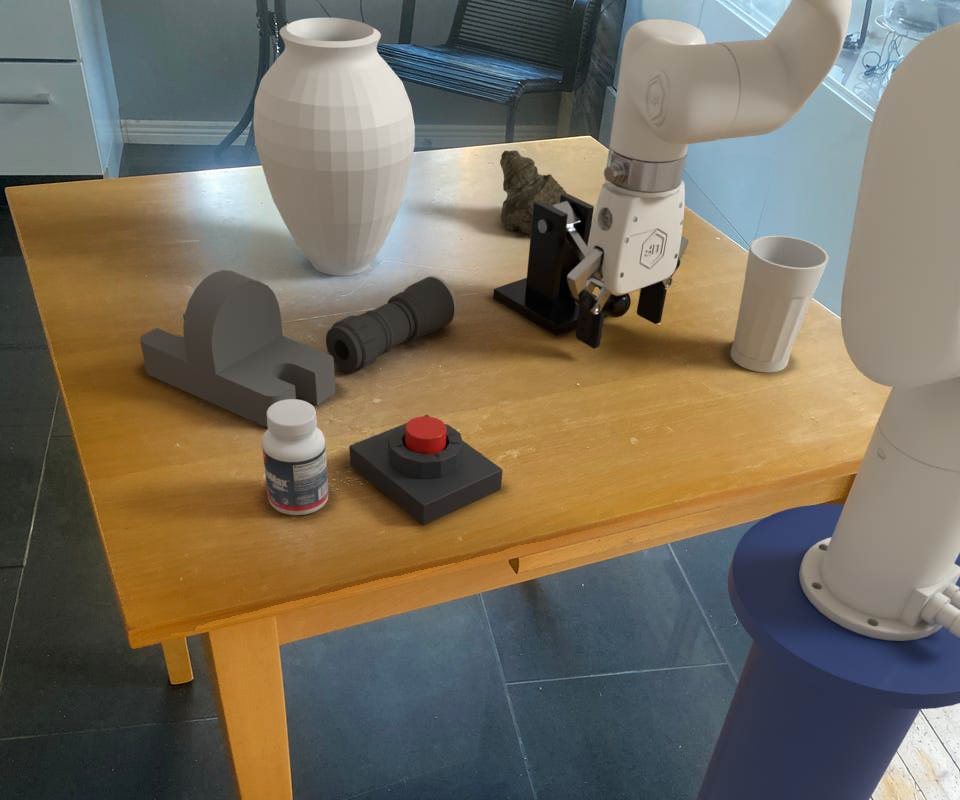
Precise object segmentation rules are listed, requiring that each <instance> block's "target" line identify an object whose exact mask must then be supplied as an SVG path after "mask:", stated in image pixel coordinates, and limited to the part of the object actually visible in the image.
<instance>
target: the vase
mask: <svg viewBox="0 0 960 800" xmlns="http://www.w3.org/2000/svg"><path fill="white" fill-rule="evenodd" d="M279 35H280V37H281V39H282V41H283V43H284V46H285V47H284V50H283V51H282V52H281V54H280V55H278V57H277V58H276V60H275V61H274V62H273V64H272V65H271V66H270V67H269V69H268V70H267V71H266V73H264V75H263V77H262V78H261V80H260V82H259V86H258V89H257V92H256V95H255V99H254V105H253V106H254V107H253V136H254V146H255V149H256V152H257V155H258V158H259V161H260V164H261V167H262V171H263V175H264V177H265V180H266V184H267V187H268V191H269V193H270V196H271V199H272V201H273V203H274V205H275V207H276V209H277V211H278V213H279V215H280V217H281V220H282V221H283V223H284V224H285V226H286V228H287V230H288V231H289V233H290V235H291V237H292V239H293V241H294V242H295V244H296V245H297V247H298V249H299V250H300V251H301V253H302V254H303V255H304V257H305V258H306V259H307V260H309V262H310V263H311V265H312V267H313V268H314V269H315V270H316V271H317V272H319V273H322V274H325V275H329V276H337V277H348V276H354V275H358V274H361V273H364V272H365V271H367V270H368V269H369V268H370V266H371V263H372V262H373V261H374V259H375V258H376V257H377V255H378V254H379V253H380V251H381V249H382V248H383V246H384V244H385V243H386V241H387V238H388V237H389V234H390V232H391V230H392V228H393V226H394V223H395V221H396V218H397V216H398V213H399V211H400V209H401V206H402V203H403V200H404V197H405V192H406V188H407V182H408V179H409V173H410V169H411V165H412V161H413V155H414V150H415V146H416V145H415V144H416V143H415V142H416V127H415V126H416V125H415V119H414V114H413V106H412V103H411V101H410V98H409V95H408V93H407V90H406V88H405V85H404V83H403V81H402V79H401V78H399V76H398V75H397V74H396V73H395V71H394V70H393V69H392V67H391V66H390V65H389V64H388V62H387V61H386V60H384V58H383V57H382V56H381V55H380V54H379V51H378V50H377V49H378V43H379V42H380V39H381V37H382V34H381V32H380V31H379V30H378V29H376V28H374V27H373V26H371V25H369V24H367V23H365V22H363V21H358V20H354V19H350V18H349V19H348V18H339V17H310V18H302V19H298V20H295V21H292V22H290V23H287V24H286V25H284V26H282V27H281V28H280V29H279Z"/></svg>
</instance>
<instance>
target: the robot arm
mask: <svg viewBox="0 0 960 800" xmlns="http://www.w3.org/2000/svg"><path fill="white" fill-rule="evenodd" d="M852 6H853V0H791V1H790V2H789V5H788V6H787V8H786V9H785V10H784V12H783V14H782V15H781V16H780V18H779V20H778V21H777V22H776V24H775V25H774V26H773V28H772V29H771V31H770V32H769V33H768V34H767V35H766V37H765V38H763V39H749V40H735V41H722V42H721V41H720V42H719V41H718V42H714V43H707V41H706V40H707V39H706V37H705V34H704V33H703V32H702V30H701V29H700V28H698V27H696V26H694V25H693V24H690V23H688V22H684V21H679V20H674V19H666V18H651V19H645V20H641V21H638V22H636V23H634V24H633V25H632V26H631V27H630V28H629V29H628V30H627V31H626V34H625V36H624V40H623V44H622V50H621V51H622V52H621V57H620V66H619V73H618V80H617V88H616V95H615V102H614V103H615V104H614V110H613V118H612V125H611V133H610V140H609V146H608V153H607V161H606V166H605V168H604V171H603V176H604V183H603V184H602V185H601V188H600V191H599V195H598V198H597V201H596V205H595V207H594V208H595V209H594V211H593V218H592V225H591V230H590V235H589V241H588V246H587V253H586V257H585V258H584V259H583V260H582V261H581V262H580V263H579V264H578V265H577V266H576V267H575V268H574V269H573V270H572V271H571V272H570V273H569V274H568V276H567V281H568V285H569V288H570V291H571V292H570V295H571V297H572V298H573V299H574V300H575V303H576V305H578V306H579V312H578V320H577V327H576V329H575V338H576V340H578V341H580V342H582V343H583V344H585V345H587V346H589V347H590V348H592V349H598V348H599V347H600V346H601V340H602V334H603V328H604V322H605V318H604V313H603V312H601V309H602V308H603V306H604V304H605V303H606V301H607V300H608V298H609V296H610V295H611V293H612V294H613V295H616V296H620V295H624V294H627V293H629V294H630V293H633V292H635V291H638V290H639V296H638V302H637V308H636V315H637V316H639V317H641V318H643V319H644V320H647V321H648V322H650V323H652V324H654V325H658V324H660V323H661V321H662V317H663V312H664V308H665V302H666V297H667V292H668V290H667V289H669V288H670V287H671V285H672V284H673V276H674V275H675V273H676V272H677V270H678V268H680V265H681V259H683V255H684V253H685V251H686V250H687V247H688V245H689V240H688V238H686V237H683V228H684V220H685V219H684V218H685V217H684V216H685V207H686V205H685V203H686V202H685V201H686V200H685V199H686V191H685V190H686V189H685V187H686V186H685V182H684V180H683V176H684V169H685V166H686V165H685V164H686V158H687V152H688V150H689V149H688V148H689V145H691V144H692V145H693V144H700V143H709V142H717V141H718V140H726V139H735V138H746V137H755V136H763V135H767V134H770V133H772V132H775V131H778V130H779V129H780V128H782V127H783V126H785V125H787V123H788V122H790V121H791V120H792V119H793V118H794V117H795V116H797V114H798V113H799V112H800V111H801V110H802V108H804V106H805V105H806V104H807V102H809V100H810V99H811V97H812V96H813V95H814V93H815V92H816V91H817V90H818V88H820V86H821V84H822V83H823V82H824V81H825V79H827V77H828V75H829V74H830V72H831V71H832V69H833V68H834V66H835V65H836V62H837V61H838V59H839V57H840V55H841V52H842V49H843V47H844V44H845V40H846V37H847V33H848V29H849V24H850V19H851V14H852ZM849 240H850V242H849V246H848V253H847V258H846V264H845V269H844V270H845V271H844V275H843V283H842V291H841V301H840V325H841V326H840V327H841V334H842V339H843V343H844V347H845V349H846V352H847V354H848V356H849V359H850V360H851V362H852V364H853V365H854V366H855V368H856V369H857V370H858V371H859V372H860V374H862V375H863V376H865V378H867V379H868V380H870V381H871V382H873V383H876V384H879V385H881V386H885V387H889V388H891V390H890V392H889V393H888V396H887V397H886V398H887V399H886V401H885V402H884V406H883V408H882V410H881V413H880V415H879V417H878V420H877V421H876V424H875V426H874V429H873V432H872V433H871V436H870V440H869V442H868V444H867V446H866V449H865V452H864V454H863V457H862V460H861V463H860V465H859V468H858V470H857V473H856V475H855V478H854V480H853V482H852V485H851V487H850V490H849V492H848V494H847V497H846V500H845V503H844V504H843V505H844V507H843V510H842V513H841V515H840V518H839V520H838V523H837V525H836V528H835V530H834V533H833V535H832V537H830V538H827V539H824V540H822V541H820V542H818V543H816V544H815V545H813V546H812V547H811V548H810V549H809V550H808V551H807V553H806V554H805V556H804V558H803V561H802V563H801V566H800V571H799V578H800V584H801V586H802V589H803V591H804V593H805V595H806V596H807V598H808V599H809V601H810V602H811V603H812V604H813V605H814V606H815V607H816V608H817V609H818V610H819V611H820V612H821V613H822V614H824V615H825V616H826V617H828V618H829V619H830V620H832V621H833V622H835V623H837V624H839V625H840V626H842V627H844V628H846V629H849V630H851V631H853V632H855V633H858V634H861V635H865V636H868V637H871V638H876V639H882V640H890V641H907V640H916V639H920V638H924V637H927V636H929V635H931V634H933V633H935V632H937V631H938V630H939V629H940V628H941V627H942V626H943V627H945V628H946V629H948V630H949V632H951V633H952V634H954V635H956V636H957V637H959V638H960V591H959V590H960V587H958V586H957V585H955V584H956V582H957V580H958V579H959V577H960V567H959V566H958V565H956V564H954V563H955V561H956V559H957V557H958V555H959V553H960V21H958V22H955V23H951V24H949V25H948V24H947V25H946V26H944V27H942V28H939V29H938V30H936V31H934V32H932V33H930V34H929V35H928V36H926V37H925V38H924V39H922V40H921V41H920V42H919V43H917V45H915V46H914V47H913V48H912V49H911V50H910V51H909V52H908V53H907V55H905V57H904V58H903V59H902V61H901V62H900V63H899V64H898V66H897V67H896V69H895V70H894V72H893V73H892V75H891V76H890V79H889V80H888V82H887V84H886V87H884V90H883V92H882V93H881V96H880V99H879V101H878V104H877V106H876V109H875V111H874V115H873V118H872V122H871V126H870V129H869V134H868V138H867V144H866V148H865V155H864V159H863V165H862V171H861V177H860V182H859V189H858V194H857V200H856V207H855V212H854V218H853V224H852V230H851V235H850V239H849ZM602 279H603V280H604V282H603V281H601V280H602ZM596 288H598V289H599V288H600V289H601V290H600V289H599V292H598V294H597V295H596V296H597V297H596V299H594V298H593V297H592V295H591V294H593V292H594V291H595V289H596ZM955 607H956V608H955Z"/></svg>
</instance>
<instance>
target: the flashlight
mask: <svg viewBox="0 0 960 800" xmlns="http://www.w3.org/2000/svg"><path fill="white" fill-rule="evenodd" d="M457 307H458V306H457V299H456V296H455V292H454V291H453V289H452V288H451V287H450V285H449V283H448V282H447V281H445V280H444V279H443V278H442V277H439V276H437V275H429V276H426V277H425V278H422V279H420V280H418V281H416V282H414V283H412V284H410V285H409V286H407V287H406V288H405V289H404V290H403V291H401V292H399V293H397V294H395V295H393V296H391V297H390V298H389V299H388V300H387V302H386V303H385V304H383V305H381V306H379V307H376V308H375V309H372V310H371V309H370V310H367V311H365V312H363V313H361V314H358V315H349V316H346V317H344V318H342V319H340V320H338V321H336V322H335V323H333V324H332V325H331V328H330V329H328V330H327V332H326V336H325V345H326V349H327V352H328V354H330V355H331V356H333V358H334V365H336V366H337V367H338V368H340V369H341V370H342V371H345V372H358V371H360V370H363V369H365V368H367V367H369V366H370V365H372V364H374V363H375V362H376V360H377V359H378V358H379V357H381V356H382V355H384V354H385V353H387V352H389V351H390V350H391V349H392V348H394V347H396V346H398V345H400V344H401V343H403V342H414V341H415V340H417V339H419V338H421V337H423V336H424V335H425V336H426V335H430V334H433V333H434V332H436V331H439V330H440V329H442V328H444V327H447V326H448V325H450V324H451V323H452V322H454V320H455V318H456V315H457V310H458V309H457Z"/></svg>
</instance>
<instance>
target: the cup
mask: <svg viewBox="0 0 960 800" xmlns="http://www.w3.org/2000/svg"><path fill="white" fill-rule="evenodd" d="M828 262H829V254H828V253H827V252H826V251H825V250H824V248H822V247H820V246H819V245H818V244H815V243H814V242H811V241H809V240H805V239H803V238H799V237H794V236H788V235H787V236H786V235H765V236H760V237H758V238H755V239H754V240H752V241H751V243H750V244H749V250H748V256H747V262H746V268H745V274H744V282H743V288H742V293H741V298H740V299H741V300H740V305H739V310H738V316H737V320H736V326H735V327H736V328H735V332H734V338H733V341H732V345H731V349H730V358H731V359H732V361H733V362H735V363H736V364H737V365H738V366H740V367H742V368H744V369H747V370H750V371H752V372H753V371H754V372H758V373H777V372H781V371H783V370H784V369H786V368H787V366H788V363H789V360H790V358H791V354H792V351H793V347H794V345H795V343H796V341H797V338H798V335H799V332H800V331H801V328H802V325H803V323H804V320H805V317H806V315H807V312H808V310H809V307H810V305H811V302H812V300H813V298H814V294H815V292H816V291H817V288H818V286H819V284H820V281H821V279H822V277H823V274H824V272H825V269H826V267H827V265H828Z"/></svg>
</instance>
